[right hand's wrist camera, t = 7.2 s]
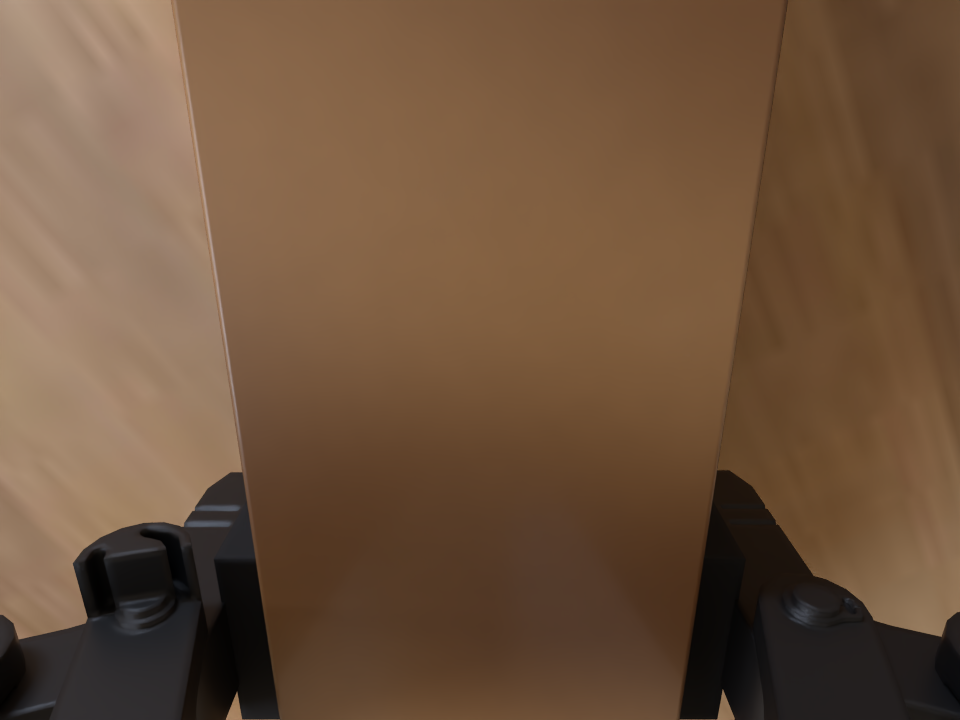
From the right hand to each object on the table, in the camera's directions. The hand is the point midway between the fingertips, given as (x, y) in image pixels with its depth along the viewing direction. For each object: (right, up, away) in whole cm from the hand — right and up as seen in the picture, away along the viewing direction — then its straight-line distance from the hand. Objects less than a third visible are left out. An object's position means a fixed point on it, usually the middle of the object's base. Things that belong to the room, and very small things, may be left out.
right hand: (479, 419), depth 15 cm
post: (0, +29, -11) cm, 31 cm away
